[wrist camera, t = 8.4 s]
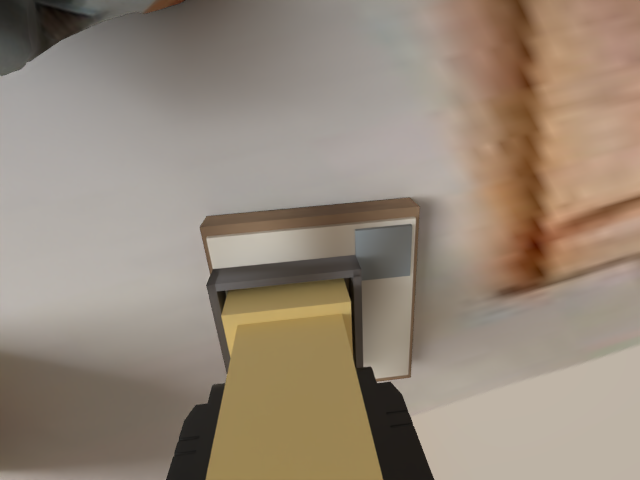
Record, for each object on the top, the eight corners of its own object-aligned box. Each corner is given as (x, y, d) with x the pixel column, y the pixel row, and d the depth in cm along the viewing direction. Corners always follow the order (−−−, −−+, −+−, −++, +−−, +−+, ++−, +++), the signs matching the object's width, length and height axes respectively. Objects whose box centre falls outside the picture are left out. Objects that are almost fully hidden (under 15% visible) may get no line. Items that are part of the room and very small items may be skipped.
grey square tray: (241, 379, 18) (233, 424, 15) (206, 216, 14) (190, 242, 12) (403, 359, 18) (420, 400, 16) (409, 197, 14) (433, 218, 12)
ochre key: (246, 371, 15) (241, 409, 13) (230, 285, 13) (221, 315, 12) (345, 359, 15) (354, 395, 14) (342, 273, 14) (350, 301, 12)
